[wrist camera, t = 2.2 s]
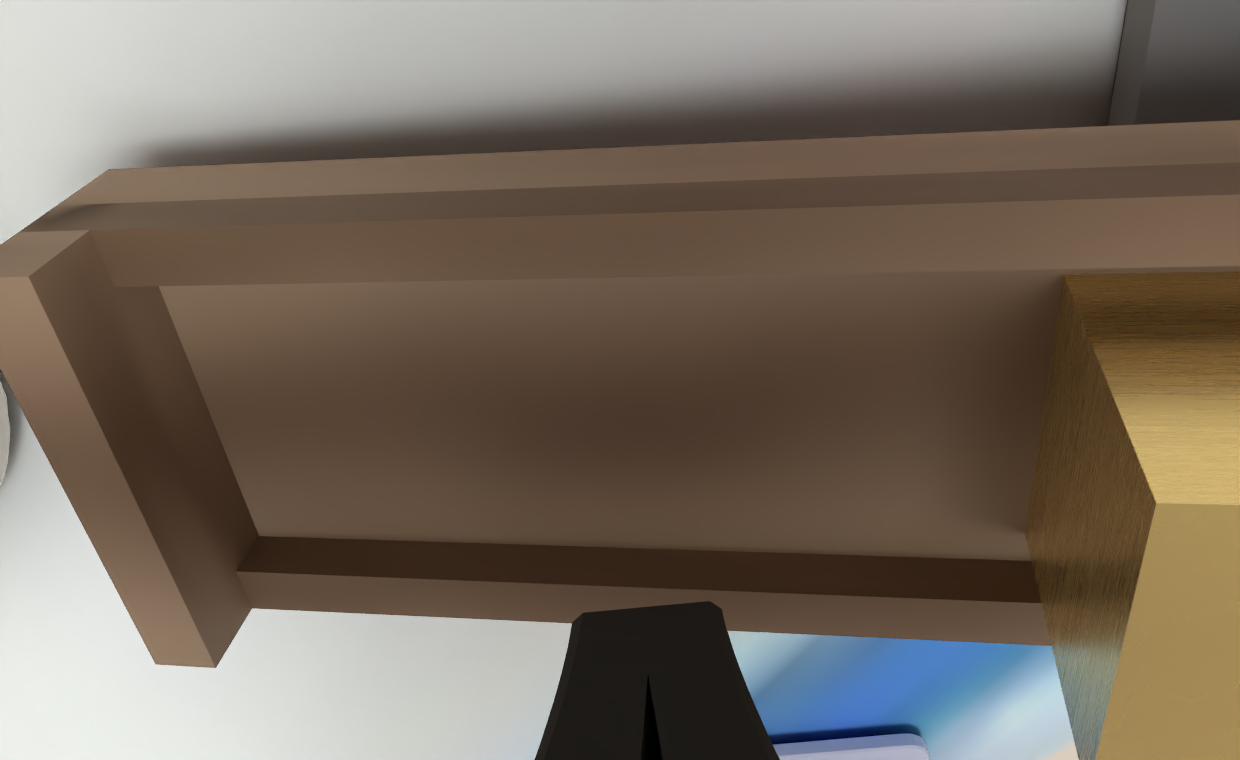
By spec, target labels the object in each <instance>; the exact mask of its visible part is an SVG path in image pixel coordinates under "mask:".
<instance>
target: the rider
mask: <svg viewBox="0 0 1240 760" xmlns="http://www.w3.org/2000/svg"><path fill="white" fill-rule="evenodd" d="M1025 535H1026V540H1027V544H1028V548H1029V552H1030V556H1031V561H1032V565H1033V569H1034V573H1035V577H1036V582H1037V586H1038V590H1039V594H1040V598H1041V603H1042V607H1043V611H1044V615H1045V619H1046V624H1047V628H1048V632H1049V636H1050V640H1051V645H1052V649H1053V653H1054V657H1055V661H1056V666H1057V670H1058V674H1059V678H1060V682H1061V687H1062V691H1063V695H1064V699H1065V703H1066V708H1067V712H1068V716H1069V720H1070V724H1071V729H1072V733H1073V737H1074V741H1075V745H1076V750H1077V754H1078V758H1079V760H1240V271H1234V272H1178V273H1122V274H1066V275H1064V276H1063V283H1062V289H1061V296H1060V303H1059V310H1058V316H1057V323H1056V330H1055V336H1054V343H1053V350H1052V357H1051V363H1050V370H1049V377H1048V383H1047V390H1046V397H1045V404H1044V410H1043V417H1042V424H1041V430H1040V437H1039V444H1038V451H1037V457H1036V464H1035V471H1034V477H1033V484H1032V491H1031V498H1030V504H1029V511H1028V518H1027V525H1026V531H1025Z"/></svg>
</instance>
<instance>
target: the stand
mask: <svg viewBox="0 0 1240 760" xmlns="http://www.w3.org/2000/svg"><path fill="white" fill-rule="evenodd" d="M1232 120H1240V0H1128V4H1127V10H1126V16H1125V23H1124V29H1123V35H1122V41H1121V47H1120V54H1119V60H1118V66H1117V72H1116V79H1115V85H1114V91H1113V97H1112V103H1111V110H1110V116H1109V122H1108V126H1117V125H1140V124H1163V123H1186V122H1209V121H1232Z"/></svg>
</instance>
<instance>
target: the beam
mask: <svg viewBox="0 0 1240 760" xmlns="http://www.w3.org/2000/svg"><path fill="white" fill-rule="evenodd" d="M1234 271H1240V120H1232V121H1209V122H1186V123H1163V124H1140V125H1117V126H1094V127H1071V128H1048V129H1025V130H1002V131H979V132H956V133H933V134H910V135H887V136H865V137H842V138H819V139H796V140H773V141H750V142H727V143H704V144H681V145H658V146H635V147H612V148H589V149H566V150H543V151H520V152H497V153H474V154H451V155H428V156H405V157H382V158H359V159H336V160H313V161H290V162H267V163H244V164H221V165H198V166H175V167H152V168H129V169H109V170H107V171H106V172H104V173H103V174H101V175H100V176H99V177H97V178H96V179H94V180H93V181H91V182H90V183H89V184H87V185H86V186H84V187H83V188H81V189H80V190H79V191H77V192H76V193H74V194H73V195H71V196H70V197H69V198H67V199H66V200H64V201H63V202H61V203H60V204H59V205H57V206H56V207H54V208H53V209H51V210H50V211H48V212H47V213H46V214H44V215H43V216H41V217H40V218H38V219H37V220H36V221H34V222H33V223H31V224H30V225H28V226H27V227H26V228H24V229H23V230H21V231H20V232H18V233H17V234H16V235H14V236H13V237H11V238H10V239H8V240H7V241H6V242H4V243H3V244H1V245H0V369H1V371H2V373H3V375H4V377H5V378H6V380H7V382H8V384H9V386H10V388H11V390H12V392H13V394H14V396H15V398H16V399H17V401H18V403H19V405H20V407H21V409H22V411H23V413H24V415H25V417H26V418H27V420H28V422H29V424H30V426H31V428H32V430H33V432H34V434H35V436H36V437H37V439H38V441H39V443H40V445H41V447H42V449H43V451H44V453H45V455H46V456H47V458H48V460H49V462H50V464H51V466H52V468H53V470H54V472H55V474H56V476H57V477H58V479H59V481H60V483H61V485H62V487H63V489H64V491H65V493H66V495H67V496H68V498H69V500H70V502H71V504H72V506H73V508H74V510H75V512H76V514H77V515H78V517H79V519H80V521H81V523H82V525H83V527H84V529H85V531H86V533H87V534H88V536H89V538H90V540H91V542H92V544H93V546H94V548H95V550H96V552H97V554H98V555H99V557H100V559H101V561H102V563H103V565H104V567H105V569H106V571H107V573H108V574H109V576H110V578H111V580H112V582H113V584H114V586H115V588H116V590H117V592H118V593H119V595H120V597H121V599H122V601H123V603H124V605H125V607H126V609H127V611H128V612H129V614H130V616H131V618H132V620H133V622H134V624H135V626H136V628H137V630H138V632H139V633H140V635H141V637H142V639H143V641H144V643H145V645H146V647H147V649H148V651H149V652H150V654H151V656H152V658H153V660H154V662H155V664H160V665H176V666H193V667H210V668H216V667H217V665H218V663H219V662H220V660H221V658H222V657H223V655H224V653H225V652H226V650H227V649H228V647H229V645H230V644H231V642H232V640H233V639H234V637H235V635H236V634H237V632H238V630H239V629H240V627H241V625H242V624H243V622H244V620H245V619H246V617H247V616H248V614H249V612H250V611H251V609H252V608H259V609H280V610H301V611H323V612H344V613H365V614H387V615H408V616H429V617H451V618H472V619H493V620H515V621H536V622H557V623H572V622H573V621H574V620H575V619H576V618H578V617H579V616H580V615H581V614H582V613H585V612H596V611H607V610H617V609H628V608H639V607H650V606H661V605H672V604H683V603H694V602H704V601H711V602H712V603H714V604H715V605H717V606H718V607H720V608H721V609H722V612H723V616H724V621H725V625H726V629H727V630H728V631H749V632H771V633H792V634H814V635H835V636H856V637H878V638H899V639H920V640H942V641H963V642H984V643H1006V644H1027V645H1048V646H1052V645H1051V640H1050V636H1049V632H1048V628H1047V624H1046V619H1045V615H1044V611H1043V607H1042V603H1041V598H1040V594H1039V590H1038V586H1037V582H1036V577H1035V573H1034V569H1033V565H1032V561H1031V556H1030V552H1029V548H1028V544H1027V540H1026V535H1025V531H1026V525H1027V518H1028V511H1029V504H1030V498H1031V491H1032V484H1033V477H1034V471H1035V464H1036V457H1037V451H1038V444H1039V437H1040V430H1041V424H1042V417H1043V410H1044V404H1045V397H1046V390H1047V383H1048V377H1049V370H1050V363H1051V357H1052V350H1053V343H1054V336H1055V330H1056V323H1057V316H1058V310H1059V303H1060V296H1061V289H1062V283H1063V276H1064V275H1066V274H1122V273H1178V272H1234Z"/></svg>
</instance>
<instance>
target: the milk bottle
mask: <svg viewBox="0 0 1240 760" xmlns="http://www.w3.org/2000/svg"><path fill="white" fill-rule="evenodd" d="M9 444H10V424H9V417H8V407H7V397H6V394H5V392H4V389H3V387H2V384H1V381H0V487H1V485H2V482H3V480H4V477H5V473H6V468H7V464H8V456H9Z"/></svg>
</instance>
